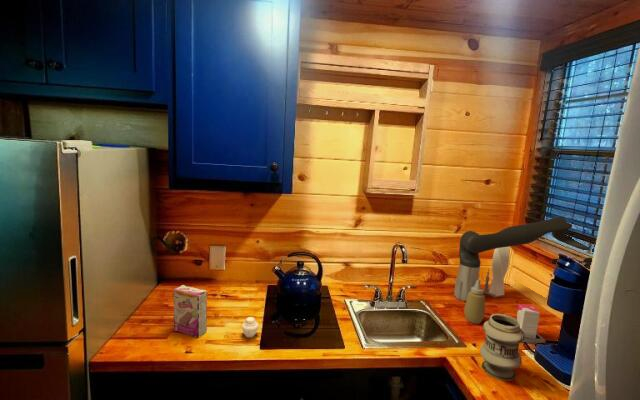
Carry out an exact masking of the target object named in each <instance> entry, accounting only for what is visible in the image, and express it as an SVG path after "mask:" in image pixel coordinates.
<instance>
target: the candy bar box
mask: <svg viewBox="0 0 640 400" xmlns="http://www.w3.org/2000/svg"><path fill="white" fill-rule="evenodd" d="M207 298H208V291H207V290H206V289H201V288H196V287H192V286H189V285H184V284H182V285H180V286H178V287H175V288H174V289H173V330H174V332H176V331H177V333H181V334H183V333H184V335H187V334H188V335H187V336H191V335H192V337H194V336H196V337H195V338H198V337H199V336H200V337H201V336H203V335H204V334H205V333H206V331H207V330H208V328H207V327H208V326H207V323H208V321H207V315H208V314H207V313H208V312H207V311H208V307H207V306H208V303H207V302H208V301H207ZM207 332H208V331H207ZM203 333H204V334H203ZM202 334H203V335H202ZM200 337H199V338H200Z"/></svg>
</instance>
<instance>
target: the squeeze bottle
mask: <svg viewBox="0 0 640 400" xmlns="http://www.w3.org/2000/svg"><path fill="white" fill-rule="evenodd" d="M483 291H484V289H483V288H482V287H481V280H480V279H478V280H477V281H476V284H475V286H474V287H472V288H471V291H470V292H469V293H468V296H467V300H466V301H465V305H464V308H463V312H464V315H465V320H466V321H468V322H469V323H471V324H477V325H479V324H481V323H482V321H483V319H484V318H485V315H486V295H485V293H484V292H483Z"/></svg>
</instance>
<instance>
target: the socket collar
mask: <svg viewBox="0 0 640 400" xmlns="http://www.w3.org/2000/svg"><path fill="white" fill-rule="evenodd" d="M524 342H526V343H524ZM521 343H523V344H536V345H538V344H537V343H545V344H546V339H545V338H543V337H542V336H541V335H540V334H539V333H538V332H537V333H536V338H524V340H523V341H522V342H521ZM521 343H520V344H521Z"/></svg>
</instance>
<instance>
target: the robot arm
mask: <svg viewBox="0 0 640 400" xmlns="http://www.w3.org/2000/svg"><path fill="white" fill-rule="evenodd" d="M571 227H572V225H571V224H569V223H567V222H566V220H565V219H564V218H563V217H561V216H557V217H553V218H548V219H545V220H541V221H536V222H530V223H526V224H525V223H524V224H518V225H512V226H508V227H505V228H503V229H501V230H500V231H497V232H494V233H487V234H479V233H478V232H476V231H473V230H468V231H466V232H464V233H462V235H461V237H460V240H459V249H458V250H459V253H458V258H459V264H458V265H459V266H458V274H457V276H456V278H455V285H454V294H453V295H454V296H455V298H456V299H457V300H458V301H463V302H466V300H467V296H468V293H469V292H470V291H471V288H472V287H474V286H475V284H476V281H477V280H480V279H479V277H480V272H481V271H480V269H481V262H482V261H481V259H480V256H479V253H483V252H484V253H485V252H487V251H491V250H495V249H496V248H502V247H510V248H511V247H516V246H523V245H528V244H530V243H531V244H532V243H533V242H535V241H537V240H538V239H540V238H542V237H543V236H546V235H547V234H549V233H551V236H552V238H554V239H555V240H557V241H558V242H561V243H563V244H566V245H569V246H572V247H574V248H576V249H579V250H581V249H582V251H584V250H589V247H587V246H585V245H583V244H581V243H579V242H577V241H575V240H574V239H572V237H570V236H567V235H565V234H563V232H564V231H565V230H568V229H570V228H571ZM594 247H595V245H594ZM592 252H594V248H593V249H592ZM591 254H592V255H594V254H593V253H591ZM592 258H593V257H586V258H585V259H583V260H579V259H575V258H573V259H575V260H576V261H578V262H579V263H581V264H582V265H584V266H585V267H586V268H588V269H590V265H591V262H592ZM558 259H559V258H551V261H550V262H551V264H552V265H556V262H557V260H558Z"/></svg>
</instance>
